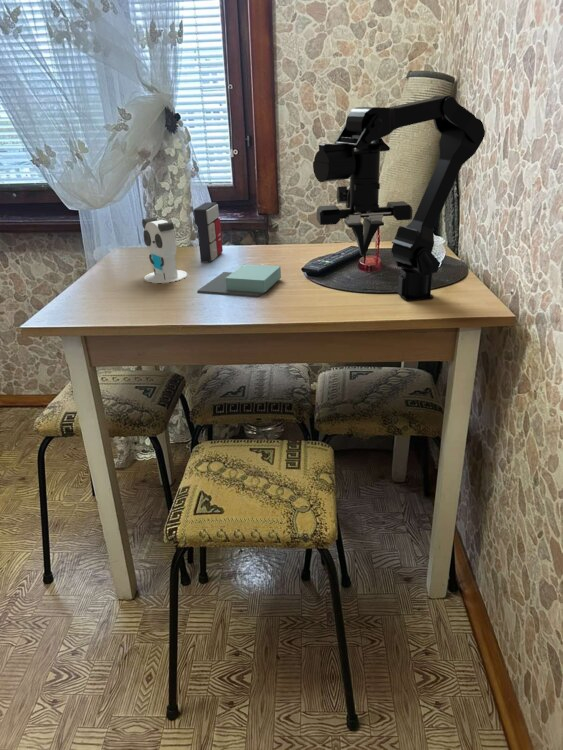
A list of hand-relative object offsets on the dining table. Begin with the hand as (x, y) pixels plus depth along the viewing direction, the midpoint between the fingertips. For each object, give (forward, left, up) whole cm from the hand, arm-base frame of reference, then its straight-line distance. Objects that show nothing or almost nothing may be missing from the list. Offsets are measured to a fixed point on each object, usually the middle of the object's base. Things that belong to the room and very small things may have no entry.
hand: (362, 254), depth 119 cm
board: (+17, -20, -10) cm, 28 cm away
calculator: (+31, -53, -12) cm, 63 cm away
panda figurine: (+44, -37, -12) cm, 59 cm away
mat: (+25, -24, -12) cm, 37 cm away
